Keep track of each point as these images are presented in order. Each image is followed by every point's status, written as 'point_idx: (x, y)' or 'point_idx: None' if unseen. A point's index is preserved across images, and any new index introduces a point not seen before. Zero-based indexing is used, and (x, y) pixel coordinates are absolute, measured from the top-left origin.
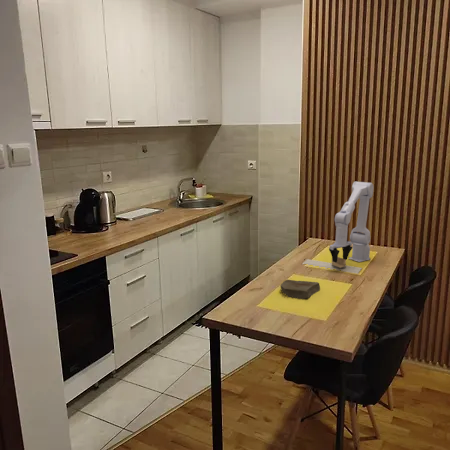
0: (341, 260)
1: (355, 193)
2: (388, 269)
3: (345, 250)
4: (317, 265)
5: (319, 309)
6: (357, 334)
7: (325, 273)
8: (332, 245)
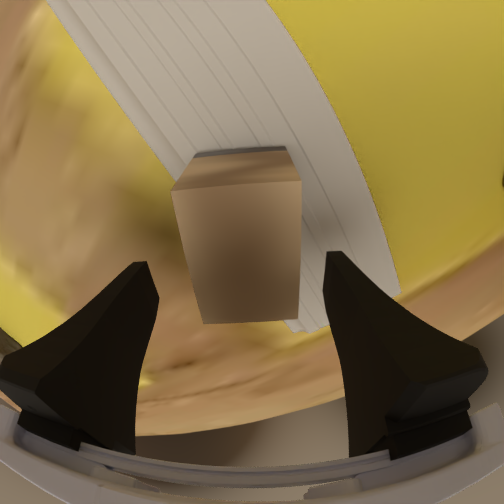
0: (221, 320)
1: None
2: (464, 333)
3: (358, 381)
4: (101, 50)
5: None
6: None
7: (78, 239)
8: (25, 464)
